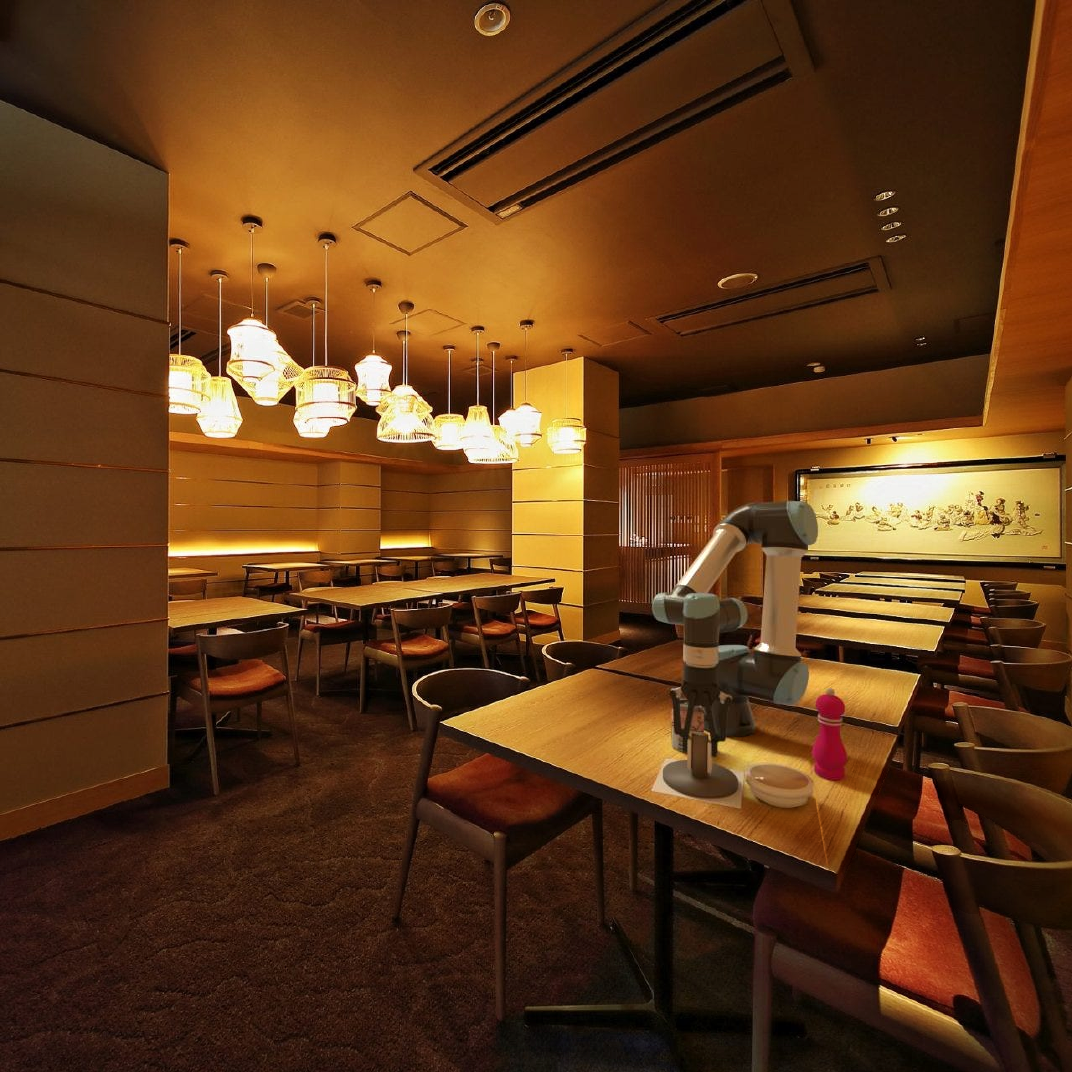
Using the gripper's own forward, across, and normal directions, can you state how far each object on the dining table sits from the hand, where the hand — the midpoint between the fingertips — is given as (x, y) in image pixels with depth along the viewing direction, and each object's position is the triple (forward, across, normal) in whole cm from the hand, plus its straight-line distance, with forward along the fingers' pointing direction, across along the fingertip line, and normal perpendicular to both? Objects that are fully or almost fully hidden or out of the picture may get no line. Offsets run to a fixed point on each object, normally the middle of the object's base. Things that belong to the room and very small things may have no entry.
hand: (699, 768), depth 120 cm
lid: (+3, 0, 0) cm, 3 cm away
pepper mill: (+4, +27, +17) cm, 32 cm away
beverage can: (+4, -5, +19) cm, 20 cm away
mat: (+3, 0, 0) cm, 3 cm away
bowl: (+3, +16, -1) cm, 16 cm away
